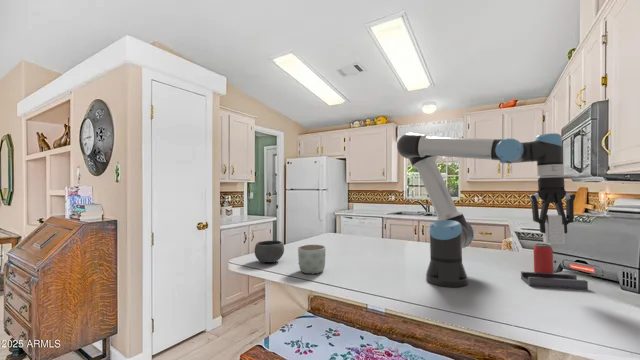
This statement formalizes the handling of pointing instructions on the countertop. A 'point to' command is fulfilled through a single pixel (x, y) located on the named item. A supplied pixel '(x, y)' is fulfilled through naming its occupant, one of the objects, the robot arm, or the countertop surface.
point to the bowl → (269, 251)
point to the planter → (311, 258)
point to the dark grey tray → (553, 280)
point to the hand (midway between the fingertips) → (553, 242)
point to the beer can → (543, 258)
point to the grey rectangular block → (554, 229)
